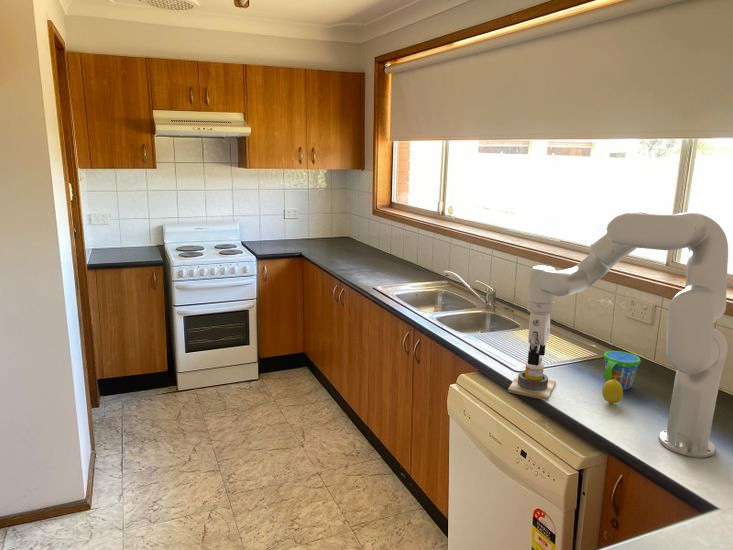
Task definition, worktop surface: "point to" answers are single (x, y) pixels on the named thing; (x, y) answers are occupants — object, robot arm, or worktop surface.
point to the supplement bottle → (534, 370)
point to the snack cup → (621, 367)
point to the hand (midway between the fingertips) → (536, 359)
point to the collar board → (532, 386)
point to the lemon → (612, 391)
